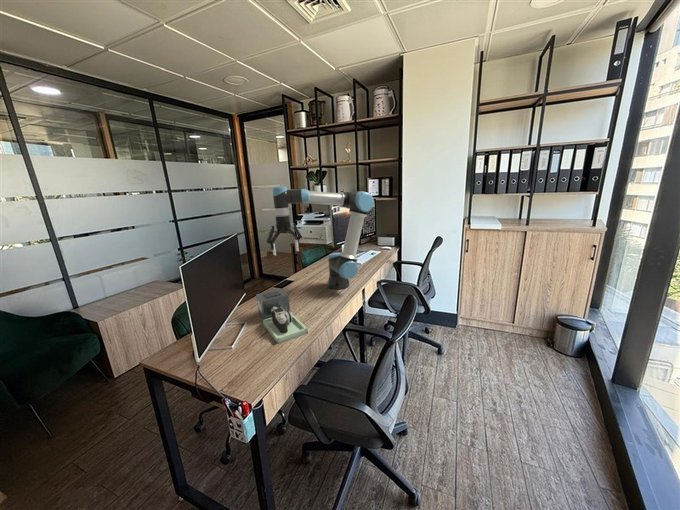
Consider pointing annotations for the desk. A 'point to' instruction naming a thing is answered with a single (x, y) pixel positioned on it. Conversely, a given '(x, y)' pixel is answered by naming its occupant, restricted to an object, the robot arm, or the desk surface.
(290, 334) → the tray
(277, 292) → the block
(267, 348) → the desk surface
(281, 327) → the camera
